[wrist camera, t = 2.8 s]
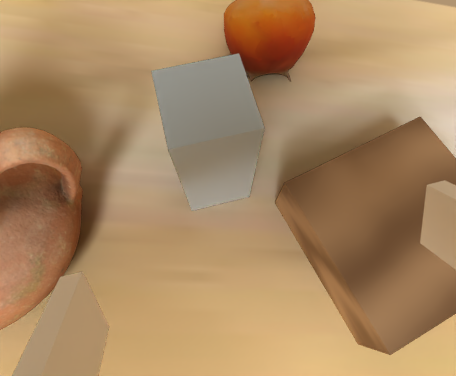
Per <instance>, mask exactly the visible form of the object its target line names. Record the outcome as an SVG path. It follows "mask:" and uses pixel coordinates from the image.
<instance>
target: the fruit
mask: <svg viewBox="0 0 456 376" xmlns="http://www.w3.org/2000/svg"><path fill="white" fill-rule="evenodd" d="M314 24H315V14H314V11H313V7H312V5H311V3H310V2H309V1H308V0H235V1H234V2H233V3H231V4H230V5H229V6H228V7H227V9H226V11H225V13H224V32H225V38H226V42H227V45H228V48H229V50H230V52H231V54H232V55H233V54H238V53H239V55H240V58H241V61H242V64H243V66H244V69H245V72H246V74H247V75H248V76H249V77H250V79H251V82H252V80H253V79H254V78H255V77H257V76H260V75H264V74H269V73H279V74H283V75H285V76H287V77H288V78H289V80H290V76H289V74H288V70H289V69H291V68H292V67H293V66H294V64H295V63H296V62H297V60H298V59H299V58H300V57H301V55H302V54H303V52H304V50H305V48H306V46H307V44H308V42H309V41H310V39H311V36H312V33H313V30H314ZM290 81H291V80H290Z"/></svg>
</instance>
